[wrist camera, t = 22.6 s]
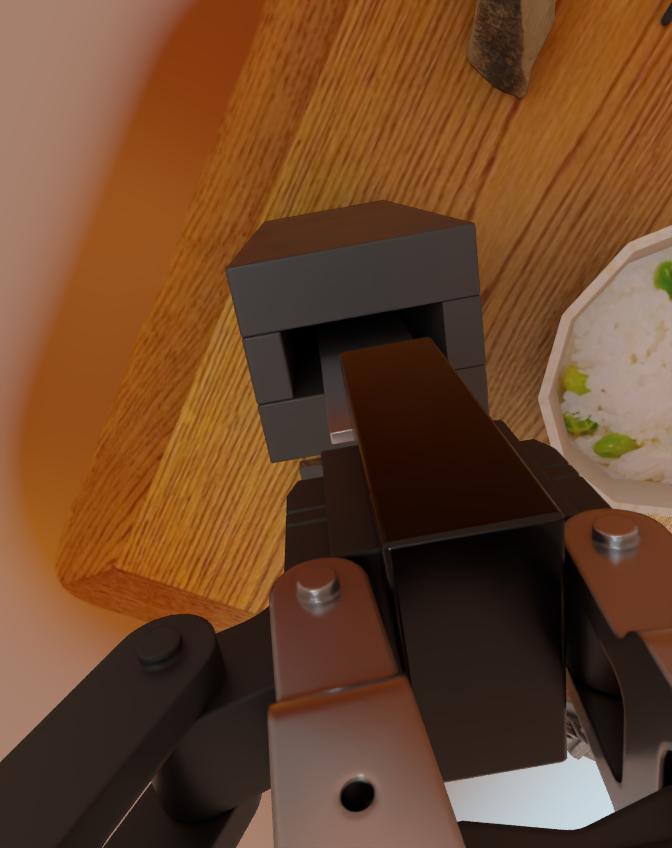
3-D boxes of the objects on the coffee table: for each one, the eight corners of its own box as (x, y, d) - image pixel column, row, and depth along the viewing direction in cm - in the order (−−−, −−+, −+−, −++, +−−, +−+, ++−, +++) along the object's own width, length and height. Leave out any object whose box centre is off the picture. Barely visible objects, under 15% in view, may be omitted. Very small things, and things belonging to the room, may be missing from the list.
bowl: (446, 408, 45) (485, 468, 36) (584, 148, 39) (673, 139, 29) (655, 492, 49) (739, 565, 40) (811, 268, 42) (953, 293, 33)
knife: (325, 374, 24) (385, 796, 8) (306, 272, 22) (336, 555, 6) (400, 360, 24) (606, 758, 8) (387, 257, 22) (614, 506, 6)
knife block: (284, 325, 42) (270, 464, 22) (263, 221, 39) (224, 268, 19) (397, 305, 42) (490, 425, 21) (384, 199, 39) (475, 222, 19)
